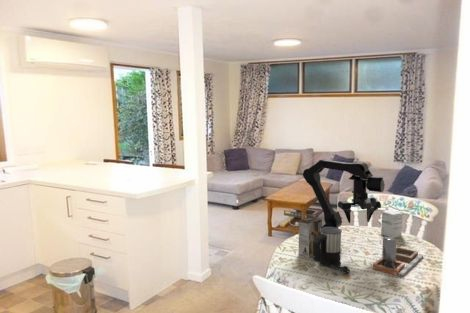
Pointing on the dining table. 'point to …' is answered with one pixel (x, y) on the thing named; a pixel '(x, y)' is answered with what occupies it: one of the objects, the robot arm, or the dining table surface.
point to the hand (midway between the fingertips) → (358, 222)
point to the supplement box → (391, 223)
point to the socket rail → (401, 268)
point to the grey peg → (389, 252)
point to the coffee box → (308, 235)
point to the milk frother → (328, 248)
